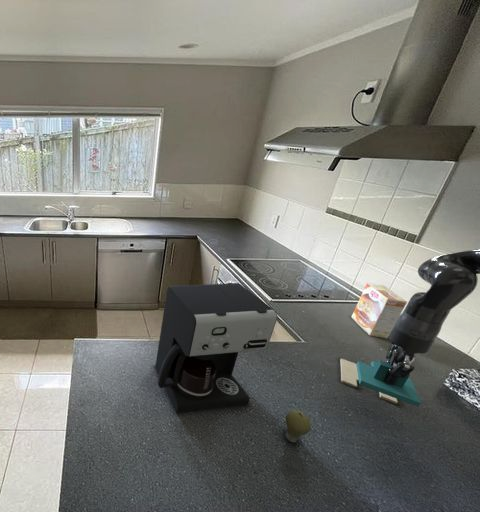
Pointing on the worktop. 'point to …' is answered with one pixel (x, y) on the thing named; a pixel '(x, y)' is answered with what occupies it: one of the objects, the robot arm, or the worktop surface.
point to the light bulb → (296, 425)
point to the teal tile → (375, 381)
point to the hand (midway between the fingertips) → (387, 379)
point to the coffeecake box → (378, 310)
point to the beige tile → (351, 378)
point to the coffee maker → (209, 343)
